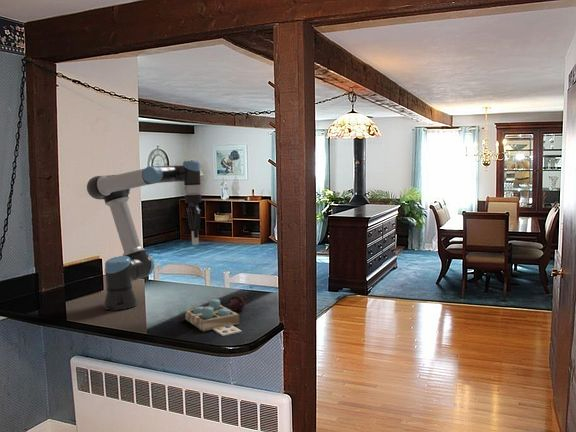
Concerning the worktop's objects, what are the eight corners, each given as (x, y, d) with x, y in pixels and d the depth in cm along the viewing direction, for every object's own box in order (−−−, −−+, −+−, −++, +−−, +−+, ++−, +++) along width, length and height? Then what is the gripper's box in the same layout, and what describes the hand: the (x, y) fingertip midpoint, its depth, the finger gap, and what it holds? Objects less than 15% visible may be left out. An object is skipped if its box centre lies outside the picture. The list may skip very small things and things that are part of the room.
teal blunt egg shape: (207, 310, 224) (207, 300, 224) (217, 308, 227) (217, 298, 227) (211, 313, 220) (211, 302, 220) (222, 311, 223) (221, 300, 222)
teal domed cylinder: (200, 319, 212) (199, 308, 212) (211, 317, 215) (210, 306, 215) (204, 321, 208) (204, 310, 208) (215, 319, 211) (215, 308, 210)
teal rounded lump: (192, 318, 221) (191, 307, 220) (202, 316, 223) (202, 305, 223) (196, 321, 217) (195, 310, 216) (206, 319, 219) (206, 308, 219)
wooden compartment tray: (185, 319, 222) (185, 310, 222) (219, 312, 231) (219, 304, 230) (203, 331, 205) (202, 321, 205) (239, 323, 214) (238, 314, 213)
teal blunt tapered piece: (216, 320, 216) (216, 309, 216) (227, 318, 219) (226, 307, 218) (221, 323, 212) (220, 312, 212) (232, 321, 215) (231, 310, 214)
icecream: (237, 301, 224) (252, 296, 238) (222, 296, 227) (239, 291, 241) (233, 316, 225) (249, 310, 239) (219, 311, 228) (236, 305, 242)
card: (212, 329, 207) (212, 327, 207) (230, 325, 212) (230, 323, 211) (222, 336, 199) (222, 334, 199) (241, 332, 203) (241, 330, 203)
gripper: (180, 194, 242) (182, 243, 245) (190, 195, 231) (193, 246, 234) (195, 193, 246) (197, 241, 249) (205, 194, 235) (208, 245, 238)
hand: (195, 244), depth 241 cm, fingers closed
